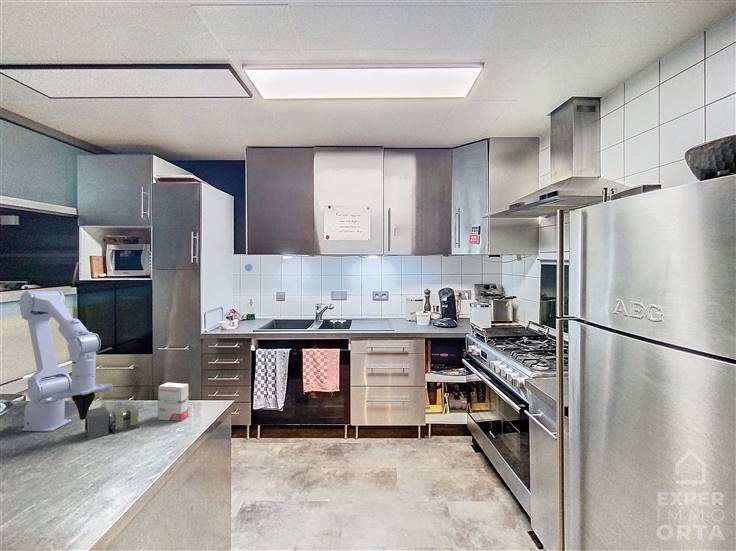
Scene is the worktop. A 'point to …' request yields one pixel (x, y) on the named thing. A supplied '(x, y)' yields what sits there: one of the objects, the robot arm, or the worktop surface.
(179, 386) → the ink box
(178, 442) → the worktop surface
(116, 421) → the shaft rig
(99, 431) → the grey housing block
